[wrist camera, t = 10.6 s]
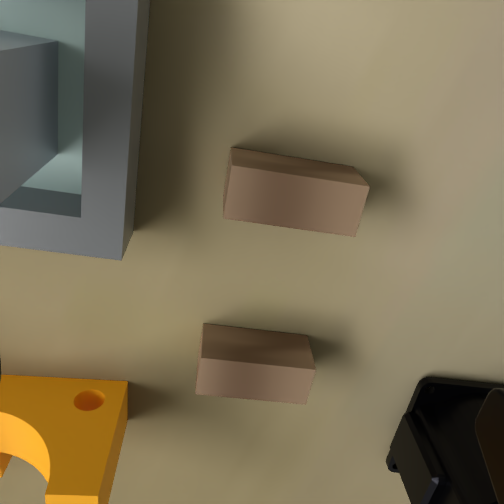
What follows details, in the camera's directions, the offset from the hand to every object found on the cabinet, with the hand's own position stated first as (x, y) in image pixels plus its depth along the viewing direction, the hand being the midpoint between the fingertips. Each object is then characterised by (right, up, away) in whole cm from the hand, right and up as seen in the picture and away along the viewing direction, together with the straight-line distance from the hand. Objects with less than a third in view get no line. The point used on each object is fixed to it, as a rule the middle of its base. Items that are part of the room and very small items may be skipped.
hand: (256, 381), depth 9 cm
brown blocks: (+1, +2, +13) cm, 13 cm away
